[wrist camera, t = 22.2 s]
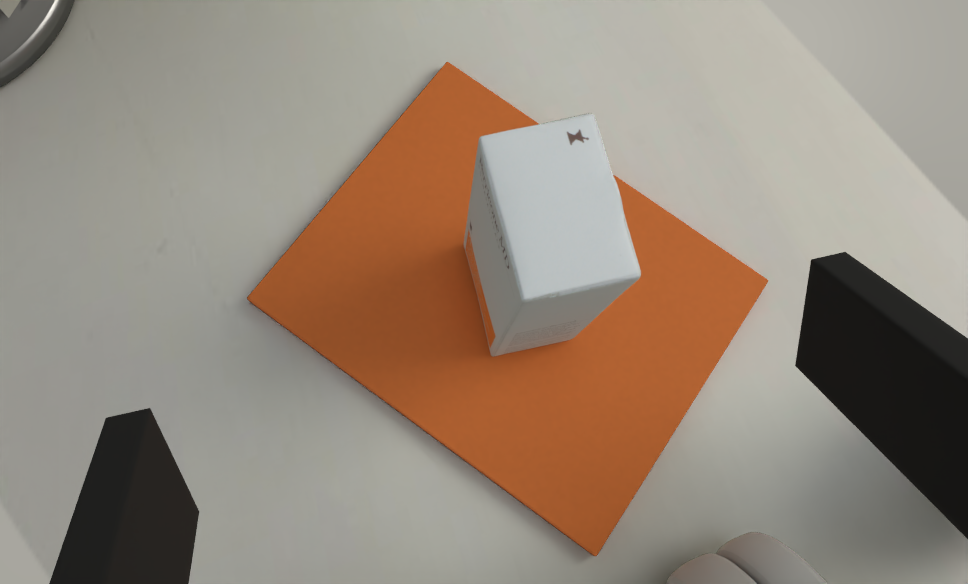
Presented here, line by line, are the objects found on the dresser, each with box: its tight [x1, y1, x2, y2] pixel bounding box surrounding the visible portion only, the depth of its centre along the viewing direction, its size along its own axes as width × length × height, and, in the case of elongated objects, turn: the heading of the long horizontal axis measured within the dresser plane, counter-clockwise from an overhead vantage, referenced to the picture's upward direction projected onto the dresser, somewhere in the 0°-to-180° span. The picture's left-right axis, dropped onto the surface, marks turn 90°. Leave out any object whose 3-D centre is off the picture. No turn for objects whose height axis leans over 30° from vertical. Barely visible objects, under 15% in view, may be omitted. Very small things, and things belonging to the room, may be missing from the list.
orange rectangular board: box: [247, 62, 768, 556], centre depth 35 cm, size 20×16×1 cm
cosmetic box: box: [464, 113, 641, 356], centre depth 29 cm, size 6×4×12 cm
